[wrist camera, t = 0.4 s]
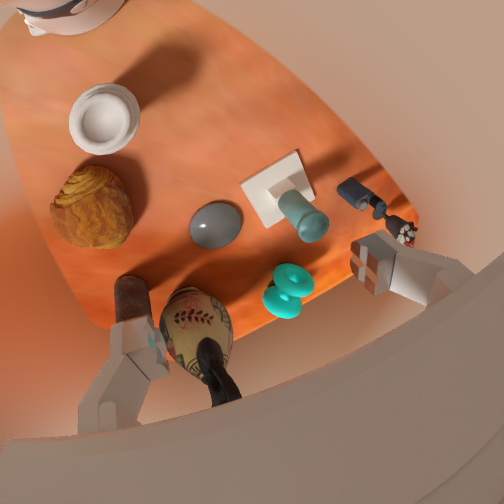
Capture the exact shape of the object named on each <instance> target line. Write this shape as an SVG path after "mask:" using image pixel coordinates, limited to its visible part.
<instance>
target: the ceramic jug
mask: <svg viewBox="0 0 504 504" xmlns="http://www.w3.org/2000/svg"><path fill="white" fill-rule="evenodd" d="M159 329H160V332H161V333H162V336H163V338H164V341H165V344H166V349H167V351H168V352H169V354H170V355H171V357H173V359H174V360H175V361H176V362H177V363H178V364H179V365H181V366H182V367H183V368H184V369H185V370H186V371H188V372H189V373H190V374H192V375H193V376H195V377H197V378H198V379H200V380H201V381H202V382H203V383H204V384H206V385H208V388H209V391H210V394H211V399H212V407H216V406H219V405H222V404H225V403H228V402H232V401H235V400H238V399H241V398H242V396H241V394H240V391H239V389H238V387H237V386H236V384H235V383H234V381H233V379H232V378H231V377H230V376H229V375H228V373H227V372H226V367H227V364H228V361H229V357H230V353H231V349H232V344H233V328H232V323H231V319H230V316H229V314H228V312H227V310H226V308H225V307H224V306H223V304H222V303H221V302H220V301H218V300H217V299H216V298H214V297H213V296H211V295H208V294H205V293H203V292H202V291H201V290H199V289H198V288H195V287H187V288H183V289H180V290H178V291H176V292H175V293H173V294H172V295H171V296H170V297H169V299H168V302H167V305H166V306H165V308H164V310H163V312H162V314H161V317H160V323H159ZM212 407H211V408H212Z"/></svg>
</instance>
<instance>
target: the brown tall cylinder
mask: <svg viewBox="0 0 504 504" xmlns="http://www.w3.org/2000/svg"><path fill="white" fill-rule="evenodd" d="M114 296H115V316H116V323H120V322H123V321H126V320H129V319H132V318H136V317H139V316H143V315H146V314H149V315H150V316H151V317H152V312H151V305H150V298H149V291H148V286H147V284H146V283H145V282H144V281H143V280H141V279H140V278H136V277H134V276H121V277H119V278H118V279H117V281H116V282H115V286H114Z"/></svg>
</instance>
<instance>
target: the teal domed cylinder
mask: <svg viewBox="0 0 504 504" xmlns="http://www.w3.org/2000/svg"><path fill="white" fill-rule="evenodd" d="M278 208H279V209H280V211H281V212H282V213H283V214H284V215H285V217H286V218H287V219H288V220H289V222H290V223H291V224H292V225H293V226H294V228H295V229H296V230H297V234H298V235H299V237H300V238H301V239H302V240H303V241H304V242H308V243H310V242H315V241H317V240H319V239H320V238H322V237H323V236H324V235H325V233H326V232H327V230H328V227H329V219H328V217H327V216H326V215H325V214H324V213H323V212H321V211H318V210H317V209H316V208H315V207H314V206H313V205H312V204H311V203H310V202H309V201H308V200H307V199H306V198H305V197H304V196H303V195H302V194H301V193H300V192H298V191H297V190H288V191H286V192H285V193H283V194H282V195H281V197H280V198H279V201H278Z"/></svg>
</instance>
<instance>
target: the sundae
mask: <svg viewBox="0 0 504 504" xmlns="http://www.w3.org/2000/svg"><path fill="white" fill-rule="evenodd" d="M382 217H383V218H384V219H385V220H386V228H387V229H388V230H389V232H390V233H391V234H392V235H393V237H394V238H395V239H396V240H398V241H399V242H400V243H401V244H405V245H406V246H409V244H412V245H413V244H414V239H415V233H414V231H417V230H418V228H416V227H414V223H413V222H406V221H404V220H403V219H401V218H400V217H398V216H396V215H391V216H388V215H386V211H385V212H383V211H382V212H378V211H377V210H376V209H375V210H374V212H373V218H374V219H375V220H379V219H381V218H382ZM410 247H411V246H410Z"/></svg>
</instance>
